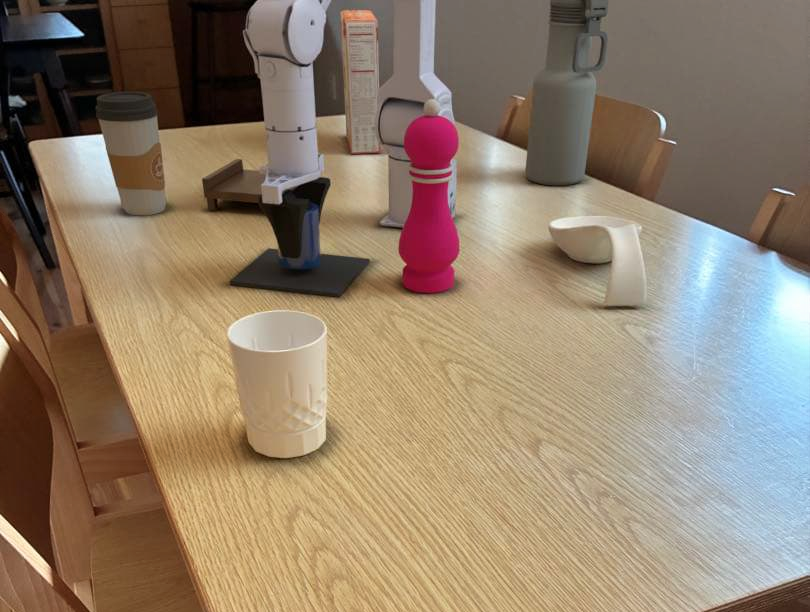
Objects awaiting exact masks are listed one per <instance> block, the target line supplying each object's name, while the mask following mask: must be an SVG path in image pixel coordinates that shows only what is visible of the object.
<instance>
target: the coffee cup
mask: <svg viewBox="0 0 810 612" xmlns="http://www.w3.org/2000/svg"><path fill="white" fill-rule="evenodd" d="M95 111H96V118H97V119H98V122H99V126H100V131H101V132H102V133H101V134H102V137H103V141H104V145H105V151H106V154H107V159H108V161H109V165H110V170H111V172H112V173H111V174H112V176H113V180H114V184H115V187H116V188H117V189H116V190H117V193H118V196H119V199H120V203H121V207H122V209H124V211H125V213H126V214H128V215H133V216H151V215H156V214H159V213H160V214H161V213H162V212H164V211H165V210H166V206H167V197H166V196H167V194H166V181H165V171H164V163H163V154H162V153H163V151H162V144H161V142H160V132H159V131H160V130H159V122H158V115H159V112H158V109H157V104H156V103H155V102H154V101H153V98H152V95H151V94H150V93H147V92H143V91H142V92H140V91H120V92H119V91H118V92H109V93H105V94H101V95H98V96H97V97H96V105H95Z"/></svg>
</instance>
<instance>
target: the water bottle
mask: <svg viewBox="0 0 810 612" xmlns="http://www.w3.org/2000/svg"><path fill="white" fill-rule="evenodd" d="M549 5H550V8H549V15H548V16H549V20H548V21H547V23H548V25H549V27H548V36H547V37H548V39H547V47H546V57H545V58H546V59H545V67H544V69H542V70H541V71H540V72H539V73H538V74H537V75H536V76H535V77H534V80H533V84H532V94H531V104H530V105H531V106H530V116H529V127H528V128H529V129H528V136H527V137H528V138H527V147H526V148H527V149H526V160H525V171H524V172H525V177H526V178H527V179H528V180H530V181H531V182H533V183H535V184H538V185H543V186H552V187H565V186H572V185H575V184H578V183H580V182H582V180H583V179H584V177H585V175H586V165H587V161H588V160H587V159H588V150H589V145H590V137H591V129H592V123H593V122H592V121H593V114H594V107H595V99H596V92H597V80H596V77H595V75H594V74H593V73H592V72H598V71H600V70H601V69H603V67H604V65H605V60H606V53H607V46H608V37H609V36H608V34H607V32H606V31H602V30H601V24H602V18H606V16H607V14H608V10H609V0H549ZM593 37H599V38H600V41H601V42H600V50H599V57H598V61H597V63H596V64H595V65H594V66H589V64H590V57H591V49H592V40H593Z"/></svg>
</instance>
